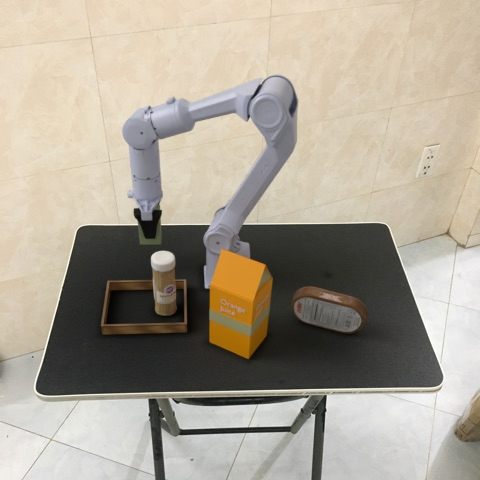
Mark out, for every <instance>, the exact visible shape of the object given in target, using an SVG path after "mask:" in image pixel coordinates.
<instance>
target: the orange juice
mask: <svg viewBox="0 0 480 480" xmlns="http://www.w3.org/2000/svg"><path fill="white" fill-rule="evenodd" d="M273 279H274V278H273V275H272V273H271V272H270V270H269V268H268V266H267V264H265V263H262V262H260V261H257V260H255V259H252V258H250V259H249V258H246V257H244V256H241V255H238V254H236V253H233V252H230V251H228V250H225V249H222V250H221V253H220V257H219V260H218V263H217V266H216V269H215V272H214V275H213V278H212V281H211V284H210V289H209V309H208V310H209V311H208V312H209V313H208V315H209V316H208V320H209V335H208V337H209V339H208V340H209V342H208V343H210V344H213V345H215V346H218V347H220V348H222V349H224V350H227V351H229V352H231V353H234V354H235V355H238V356H240V357H243V358H245V359H247V360H250V358H251V357H252V355H253V354H254V353H255V351H256V350H257V349H258V347H259V346H260V345H261V344H262V342H263V341H264V340H265V338H266V337H267V336H268V335H267V334H268V325H269V318H270V317H269V316H270V310H271V299H272V298H271V297H272V290H273V281H274V280H273Z"/></svg>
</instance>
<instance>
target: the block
mask: <svg viewBox="0 0 480 480" xmlns="http://www.w3.org/2000/svg"><path fill="white" fill-rule="evenodd" d="M137 208H139V207H138V206H137ZM154 210H161V204H159V205H157V206H156V207H155V209H154ZM137 228H138V239H139V245H140V246H141V245H143V246H145V245H146V246H147V245H162V239H163V237H162V236H163V231H162V217H161V218H160V219H159V221H158V225H157V231H156V237H155V239H145V237H144V234H143V231H142V228H141V226H140V224H139V222H138V221H137Z"/></svg>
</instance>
